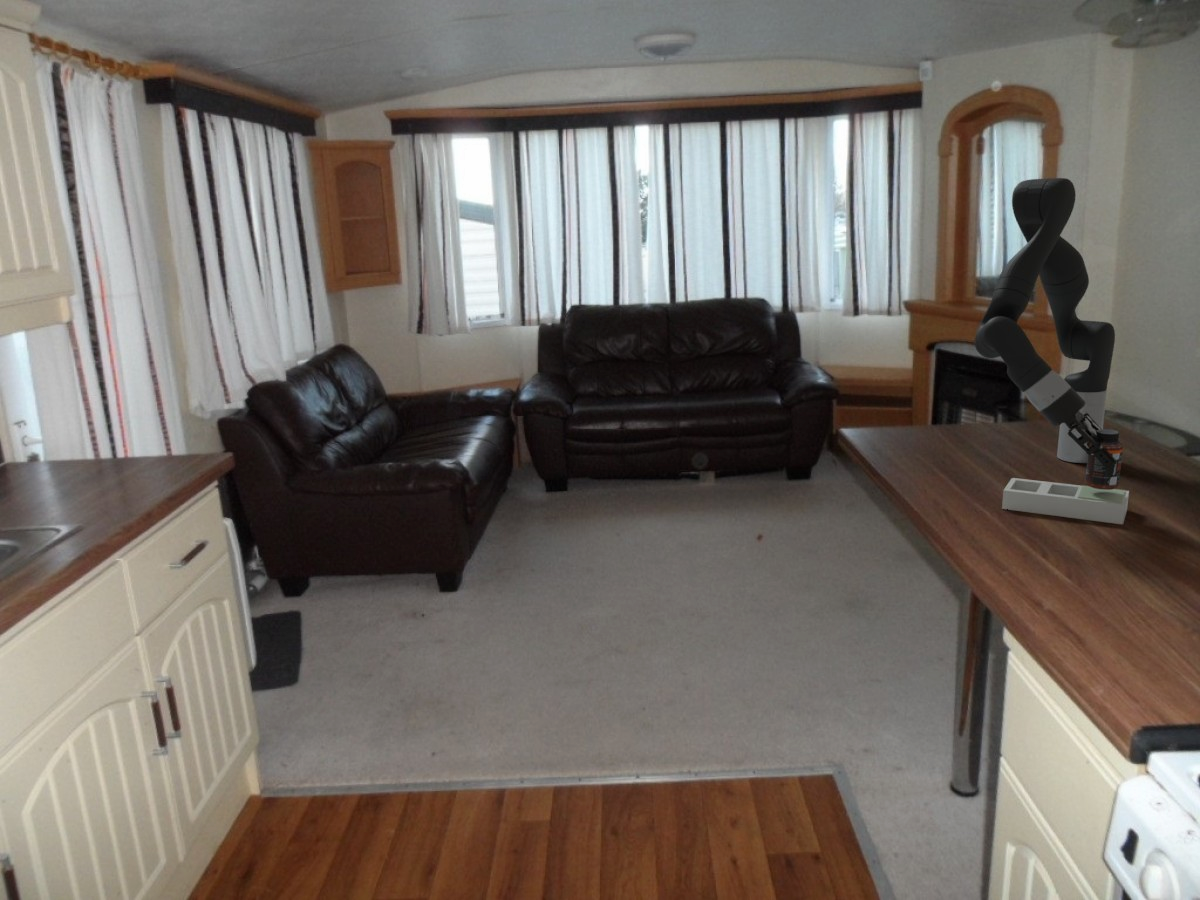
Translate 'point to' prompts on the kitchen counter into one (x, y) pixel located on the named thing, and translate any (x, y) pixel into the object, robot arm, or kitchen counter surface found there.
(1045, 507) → the board
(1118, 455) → the supplement bottle
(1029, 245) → the robot arm
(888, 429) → the kitchen counter surface
